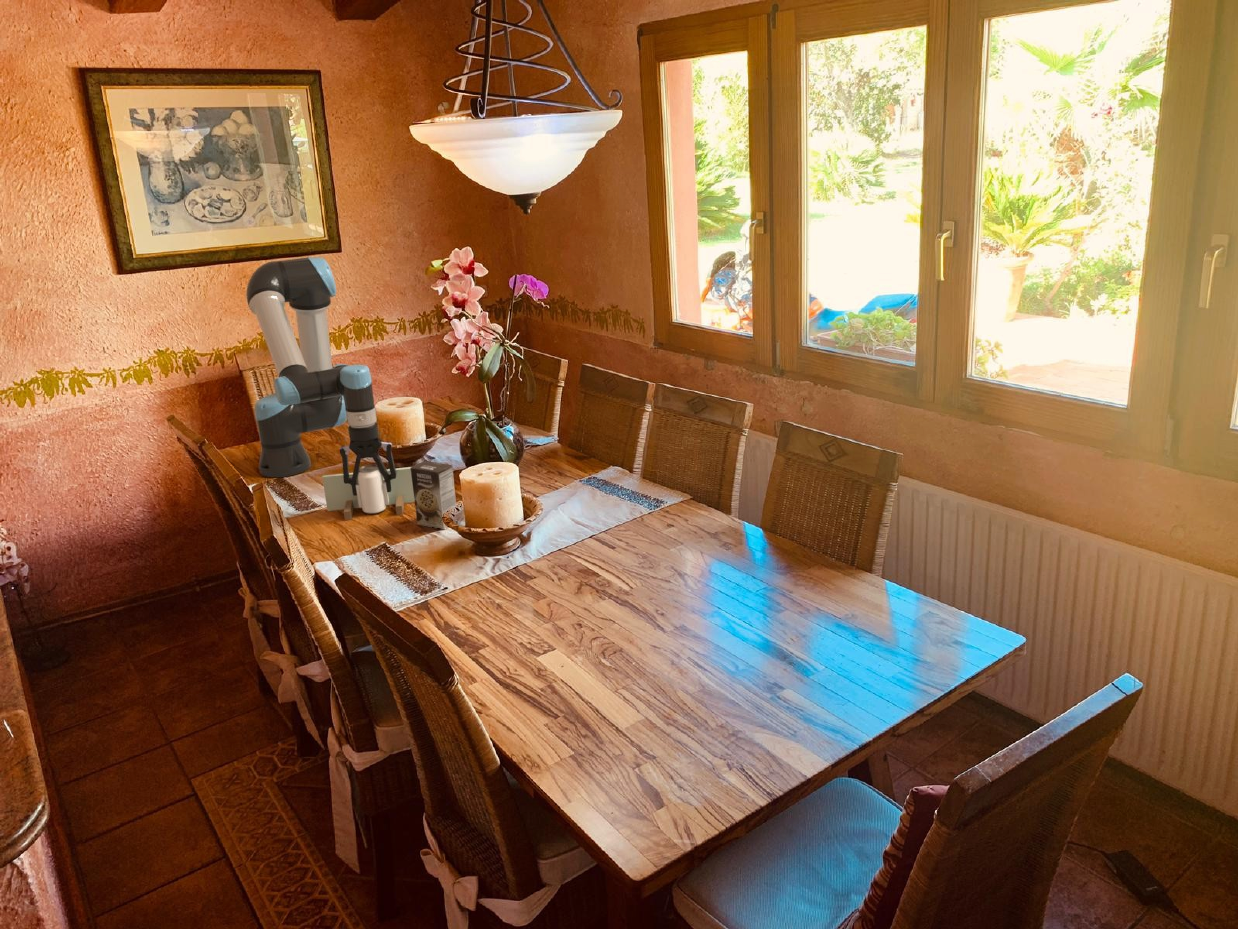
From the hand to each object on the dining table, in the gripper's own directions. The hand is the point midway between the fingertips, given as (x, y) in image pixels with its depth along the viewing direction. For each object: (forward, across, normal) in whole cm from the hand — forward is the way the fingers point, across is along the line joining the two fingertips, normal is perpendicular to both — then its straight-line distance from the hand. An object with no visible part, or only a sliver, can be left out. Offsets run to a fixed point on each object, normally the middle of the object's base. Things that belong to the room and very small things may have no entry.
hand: (374, 504), depth 251 cm
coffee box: (+2, +17, -13) cm, 22 cm away
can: (+2, 0, 0) cm, 2 cm away
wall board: (+2, 0, 0) cm, 2 cm away
